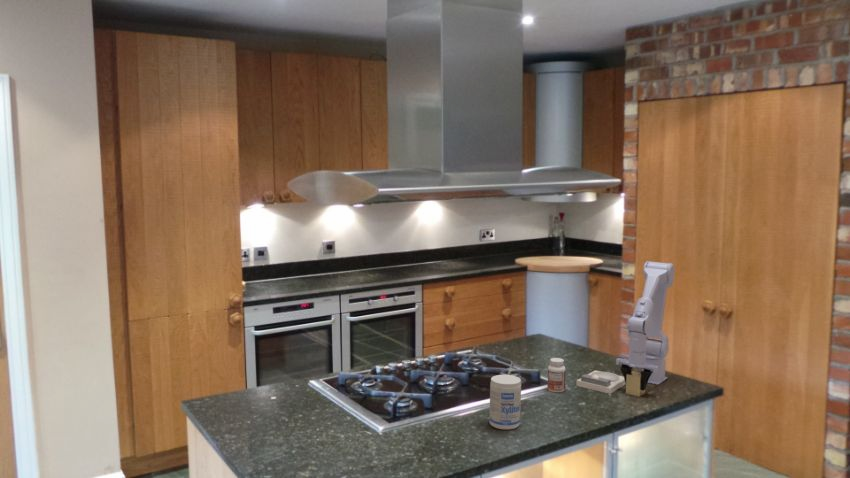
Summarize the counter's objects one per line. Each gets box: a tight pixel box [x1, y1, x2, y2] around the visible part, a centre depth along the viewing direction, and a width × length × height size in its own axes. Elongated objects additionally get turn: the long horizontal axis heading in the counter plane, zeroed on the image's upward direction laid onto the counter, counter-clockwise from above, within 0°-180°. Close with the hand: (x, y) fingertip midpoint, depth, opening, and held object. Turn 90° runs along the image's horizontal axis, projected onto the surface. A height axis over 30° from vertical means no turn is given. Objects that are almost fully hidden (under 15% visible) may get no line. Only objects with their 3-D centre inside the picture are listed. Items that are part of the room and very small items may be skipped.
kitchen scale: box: [576, 369, 626, 395], centre depth 255 cm, size 15×13×5 cm
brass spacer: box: [625, 370, 646, 398], centre depth 246 cm, size 5×5×7 cm
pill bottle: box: [547, 357, 567, 393], centre depth 249 cm, size 6×6×11 cm
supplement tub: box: [488, 374, 522, 431], centre depth 218 cm, size 10×10×15 cm
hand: (635, 387), depth 246 cm, fingers closed on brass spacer, 5 cm apart
